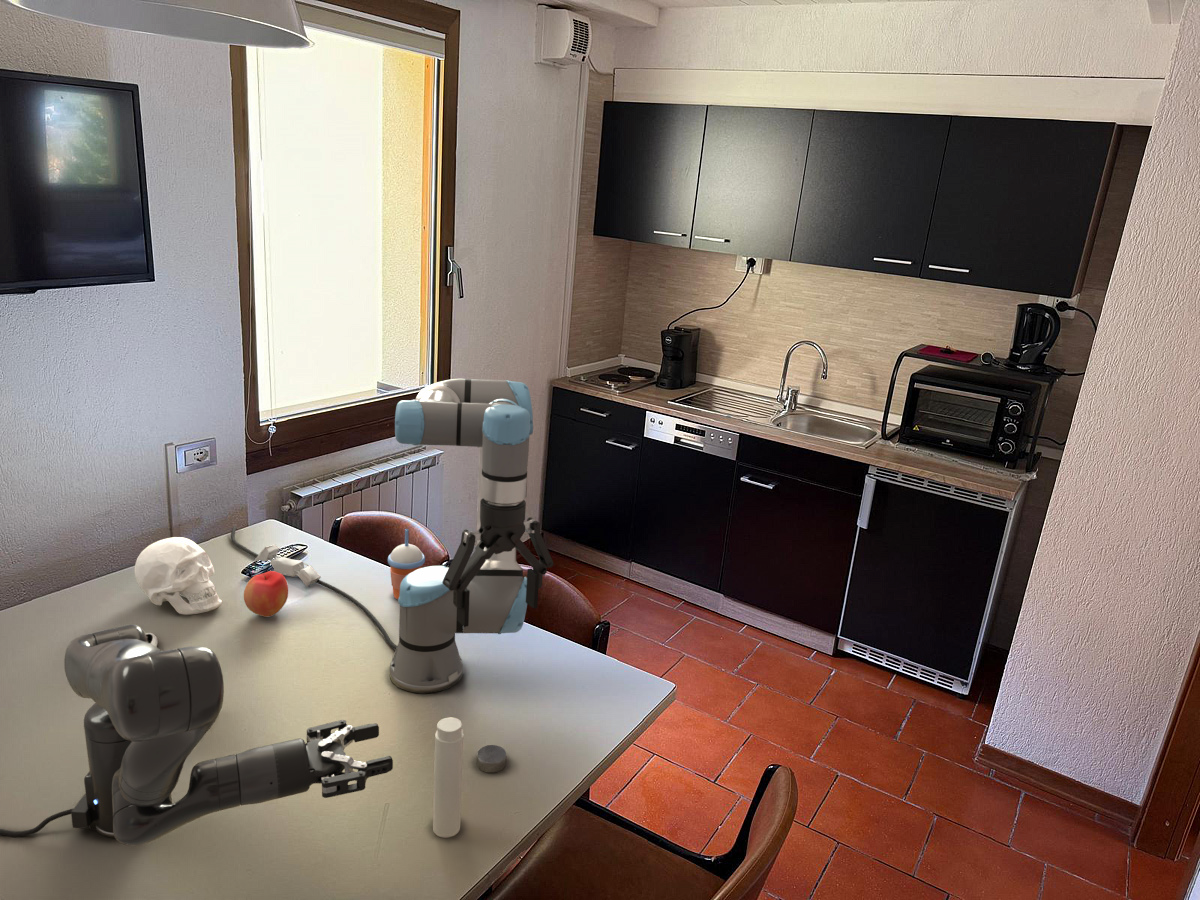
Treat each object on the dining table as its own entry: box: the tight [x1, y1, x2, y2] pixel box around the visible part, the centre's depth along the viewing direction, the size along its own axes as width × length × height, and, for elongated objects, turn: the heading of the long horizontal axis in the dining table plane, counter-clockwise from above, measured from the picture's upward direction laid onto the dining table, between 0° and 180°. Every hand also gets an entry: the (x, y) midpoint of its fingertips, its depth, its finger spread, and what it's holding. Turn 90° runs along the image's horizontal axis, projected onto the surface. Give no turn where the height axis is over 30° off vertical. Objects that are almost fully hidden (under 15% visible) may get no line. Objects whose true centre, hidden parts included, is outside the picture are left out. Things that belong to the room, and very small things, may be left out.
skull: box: [134, 536, 223, 616], centre depth 201 cm, size 13×22×16 cm, turn 73°
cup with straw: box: [387, 528, 426, 601], centre depth 212 cm, size 9×9×18 cm
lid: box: [476, 744, 507, 774], centre depth 156 cm, size 5×5×2 cm
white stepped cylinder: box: [432, 716, 464, 839], centre depth 137 cm, size 4×4×20 cm
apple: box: [243, 570, 289, 618], centre depth 199 cm, size 10×10×10 cm
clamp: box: [254, 544, 322, 587], centre depth 219 cm, size 20×4×7 cm, turn 62°
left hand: (385, 745), depth 130 cm, fingers open, 8 cm apart
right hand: (497, 614), depth 148 cm, fingers open, 13 cm apart
